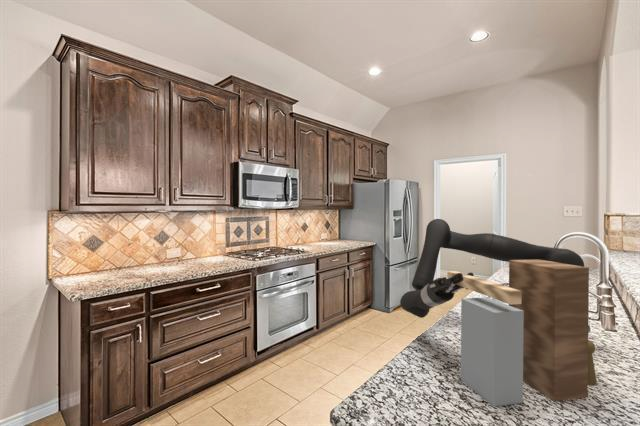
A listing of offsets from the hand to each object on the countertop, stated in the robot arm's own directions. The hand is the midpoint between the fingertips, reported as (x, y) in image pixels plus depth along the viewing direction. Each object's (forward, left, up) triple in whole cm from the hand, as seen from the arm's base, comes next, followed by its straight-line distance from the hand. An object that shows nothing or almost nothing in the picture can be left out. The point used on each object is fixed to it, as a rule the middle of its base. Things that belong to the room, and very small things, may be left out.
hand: (467, 276), depth 88 cm
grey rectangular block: (-4, +8, -27) cm, 29 cm away
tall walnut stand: (-19, +1, -27) cm, 33 cm away
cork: (-30, -4, -28) cm, 41 cm away
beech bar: (-2, +5, -3) cm, 6 cm away
